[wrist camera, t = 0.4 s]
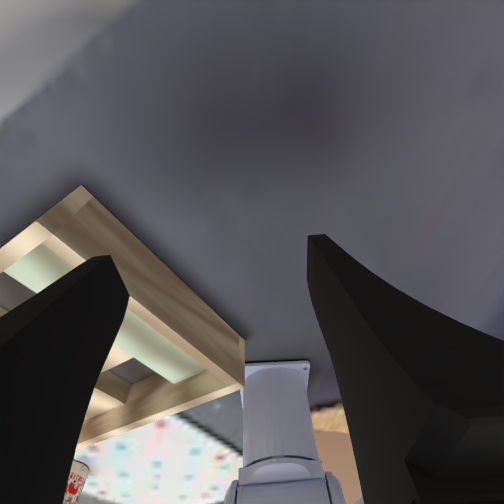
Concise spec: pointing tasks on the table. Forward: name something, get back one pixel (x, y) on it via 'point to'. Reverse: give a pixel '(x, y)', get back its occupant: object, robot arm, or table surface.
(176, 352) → the trap box
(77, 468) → the teacup with lid
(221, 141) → the table surface
